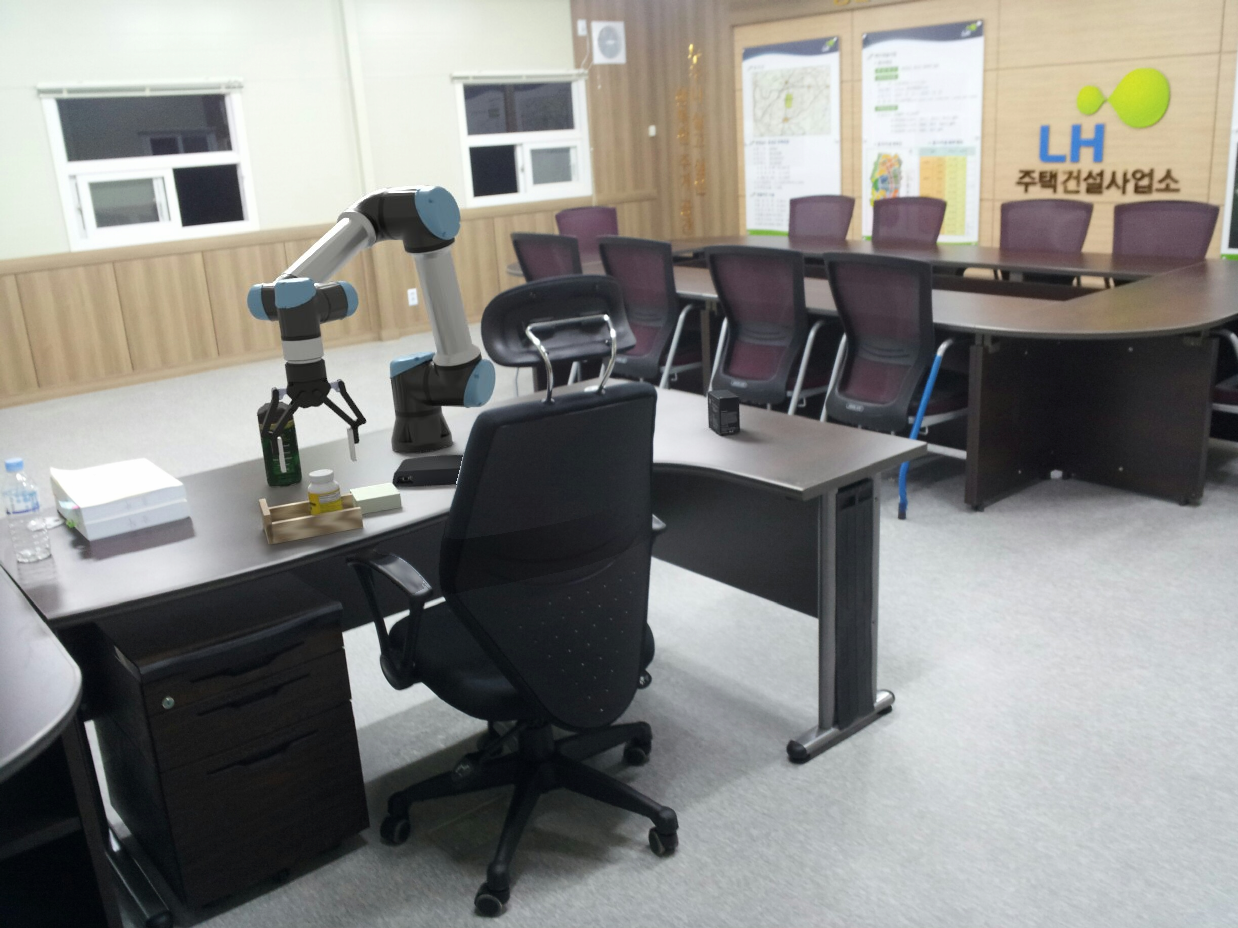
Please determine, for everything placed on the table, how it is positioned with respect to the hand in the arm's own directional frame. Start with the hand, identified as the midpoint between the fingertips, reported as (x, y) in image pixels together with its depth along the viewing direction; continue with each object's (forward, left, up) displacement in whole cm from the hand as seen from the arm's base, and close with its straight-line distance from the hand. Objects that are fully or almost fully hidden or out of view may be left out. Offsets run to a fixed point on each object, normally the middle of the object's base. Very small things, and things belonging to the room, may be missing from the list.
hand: (319, 465), depth 215 cm
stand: (-11, -8, -13) cm, 18 cm away
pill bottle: (0, 0, -13) cm, 13 cm away
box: (-100, -18, -13) cm, 102 cm away
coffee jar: (+4, -37, -13) cm, 39 cm away
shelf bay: (+2, 0, -13) cm, 13 cm away
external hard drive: (-28, -20, -13) cm, 37 cm away
